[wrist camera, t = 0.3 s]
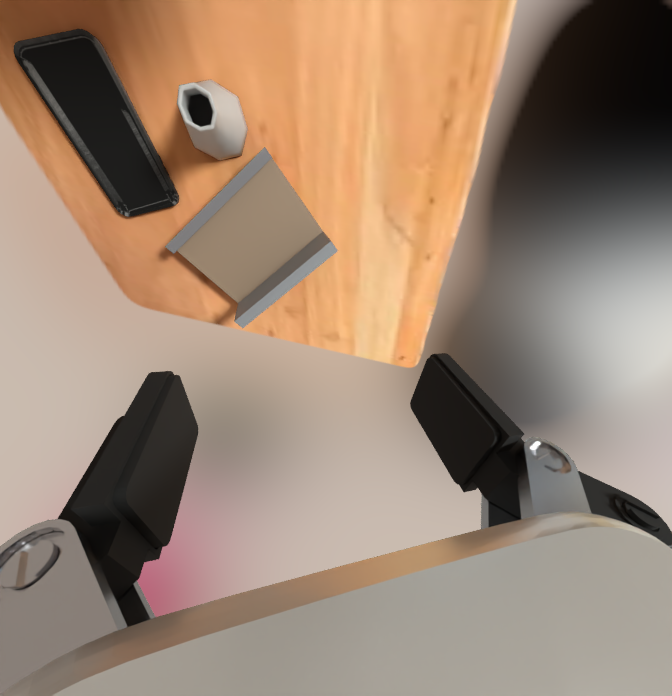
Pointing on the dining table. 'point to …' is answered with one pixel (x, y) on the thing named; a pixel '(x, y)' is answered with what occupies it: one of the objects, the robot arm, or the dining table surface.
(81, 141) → the phone
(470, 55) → the dining table surface
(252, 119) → the dining table surface
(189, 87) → the flask
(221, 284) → the wall shelf
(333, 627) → the robot arm
